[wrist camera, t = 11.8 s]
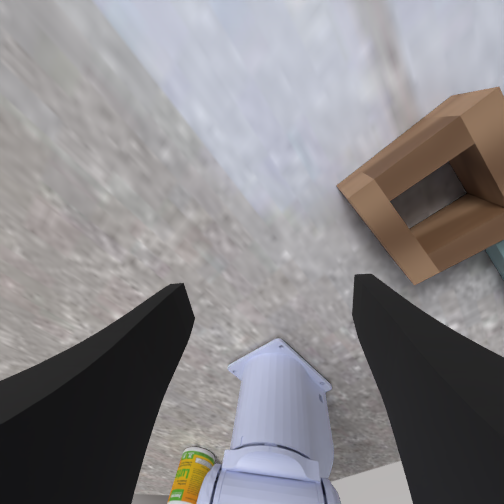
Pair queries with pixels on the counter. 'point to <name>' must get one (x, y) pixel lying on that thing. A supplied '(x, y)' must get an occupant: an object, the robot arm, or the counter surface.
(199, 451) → the supplement bottle
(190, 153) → the counter surface
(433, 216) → the bore block
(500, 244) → the tray
